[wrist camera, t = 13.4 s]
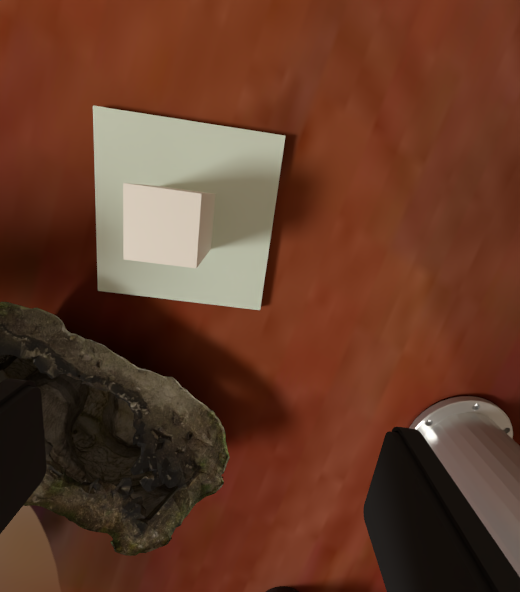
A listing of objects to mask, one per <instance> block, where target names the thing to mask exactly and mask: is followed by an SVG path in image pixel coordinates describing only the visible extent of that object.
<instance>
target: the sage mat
mask: <svg viewBox="0 0 520 592" xmlns="http://www.w3.org/2000/svg"><path fill="white" fill-rule="evenodd" d="M93 128H94V166H95V204H96V242H97V280H98V291H104V292H112V293H120V294H129V295H137V296H145V297H154V298H162V299H170V300H179V301H187V302H196V303H204V304H212V305H221V306H229V307H237V308H246V309H254V310H260V308H261V301H262V294H263V287H264V280H265V274H266V267H267V260H268V253H269V246H270V239H271V232H272V226H273V219H274V212H275V205H276V198H277V191H278V184H279V177H280V171H281V164H282V157H283V150H284V143H285V135H278V134H272V133H265V132H259V131H253V130H246V129H240V128H233V127H227V126H221V125H214V124H208V123H201V122H195V121H189V120H182V119H176V118H169V117H163V116H157V115H150V114H144V113H137V112H131V111H125V110H118V109H112V108H105V107H99V106H93ZM123 183H130V184H142V185H153V186H163V187H170V188H177V189H185V190H192V191H199V192H206V193H214V194H216V195H215V207H214V219H213V231H212V243H211V250H210V251H209V252H208V254H207V255H206V256H205V258H204V259H203V260H202V262H201V263H200V264H199V266H198V267H197V268H189V267H181V266H173V265H164V264H156V263H148V262H140V261H132V260H124V259H123Z"/></svg>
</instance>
